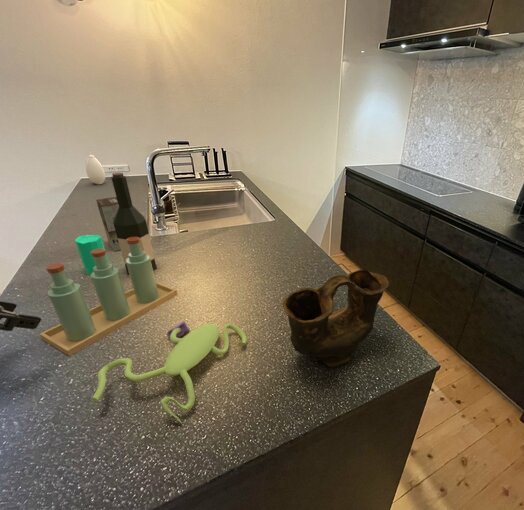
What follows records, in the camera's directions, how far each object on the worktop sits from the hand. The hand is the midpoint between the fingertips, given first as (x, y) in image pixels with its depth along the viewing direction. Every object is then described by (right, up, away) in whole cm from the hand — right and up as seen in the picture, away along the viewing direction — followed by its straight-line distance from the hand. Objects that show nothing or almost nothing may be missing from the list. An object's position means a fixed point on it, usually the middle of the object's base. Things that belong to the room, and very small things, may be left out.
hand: (25, 316), depth 59 cm
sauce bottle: (-74, +51, +112) cm, 143 cm away
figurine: (+28, -12, +4) cm, 31 cm away
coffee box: (-18, +15, +50) cm, 55 cm away
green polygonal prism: (-14, +7, +35) cm, 38 cm away
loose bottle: (+2, -6, +10) cm, 12 cm away
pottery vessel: (+60, -11, +12) cm, 62 cm away
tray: (+5, -3, +17) cm, 18 cm away
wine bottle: (-1, +7, +36) cm, 37 cm away
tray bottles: (+7, -1, +20) cm, 22 cm away
